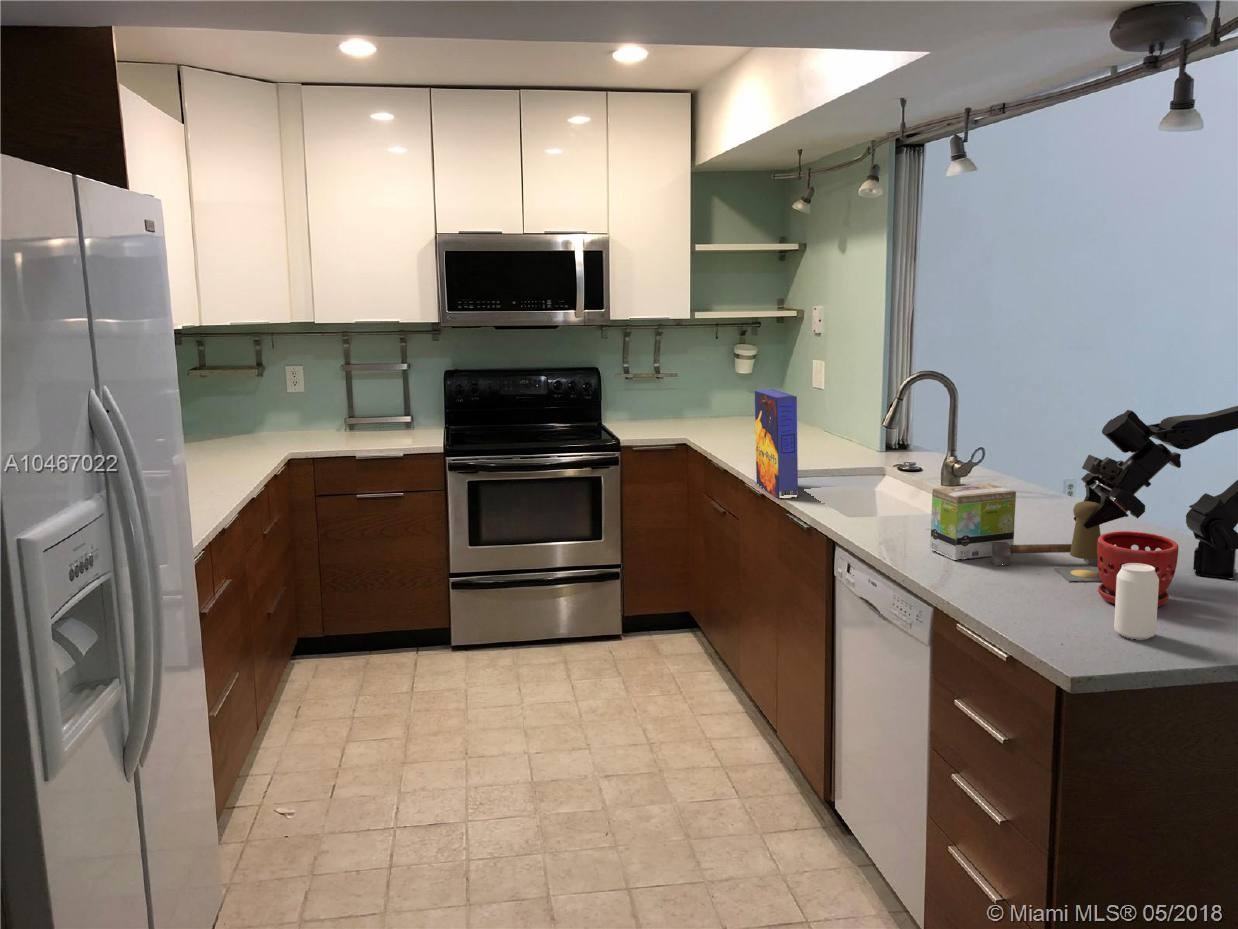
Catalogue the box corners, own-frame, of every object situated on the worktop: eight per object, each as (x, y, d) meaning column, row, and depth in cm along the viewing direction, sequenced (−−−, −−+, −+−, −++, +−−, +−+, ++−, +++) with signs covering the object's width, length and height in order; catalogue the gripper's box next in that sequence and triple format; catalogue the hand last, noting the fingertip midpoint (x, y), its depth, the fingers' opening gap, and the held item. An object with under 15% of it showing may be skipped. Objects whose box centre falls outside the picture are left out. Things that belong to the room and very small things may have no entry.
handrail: (1098, 560, 201) (1099, 540, 200) (1103, 564, 198) (1104, 544, 197) (991, 561, 204) (992, 542, 203) (995, 565, 201) (995, 545, 200)
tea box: (956, 562, 205) (957, 496, 202) (929, 551, 214) (930, 487, 211) (1015, 554, 208) (1017, 489, 206) (986, 543, 218) (987, 481, 215)
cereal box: (756, 485, 295) (754, 389, 289) (774, 483, 296) (773, 388, 290) (778, 499, 273) (776, 396, 268) (798, 497, 274) (796, 395, 269)
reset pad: (1098, 568, 196) (1098, 566, 195) (1116, 581, 187) (1116, 579, 187) (1053, 569, 197) (1053, 567, 197) (1068, 582, 188) (1068, 580, 188)
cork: (1084, 560, 187) (1086, 507, 185) (1063, 553, 193) (1064, 501, 191) (1110, 556, 189) (1111, 503, 187) (1087, 549, 195) (1089, 497, 193)
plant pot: (1084, 604, 175) (1087, 541, 173) (1109, 586, 184) (1112, 527, 182) (1162, 618, 166) (1165, 553, 164) (1184, 599, 175) (1188, 537, 173)
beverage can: (1111, 638, 158) (1115, 569, 156) (1116, 626, 163) (1119, 560, 161) (1153, 644, 155) (1158, 574, 152) (1157, 632, 160) (1161, 564, 157)
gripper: (1092, 434, 195) (1036, 487, 199) (1130, 449, 177) (1067, 507, 181) (1131, 469, 196) (1074, 522, 199) (1172, 488, 178) (1109, 546, 181)
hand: (1080, 523), depth 190 cm, fingers closed on cork, 5 cm apart
